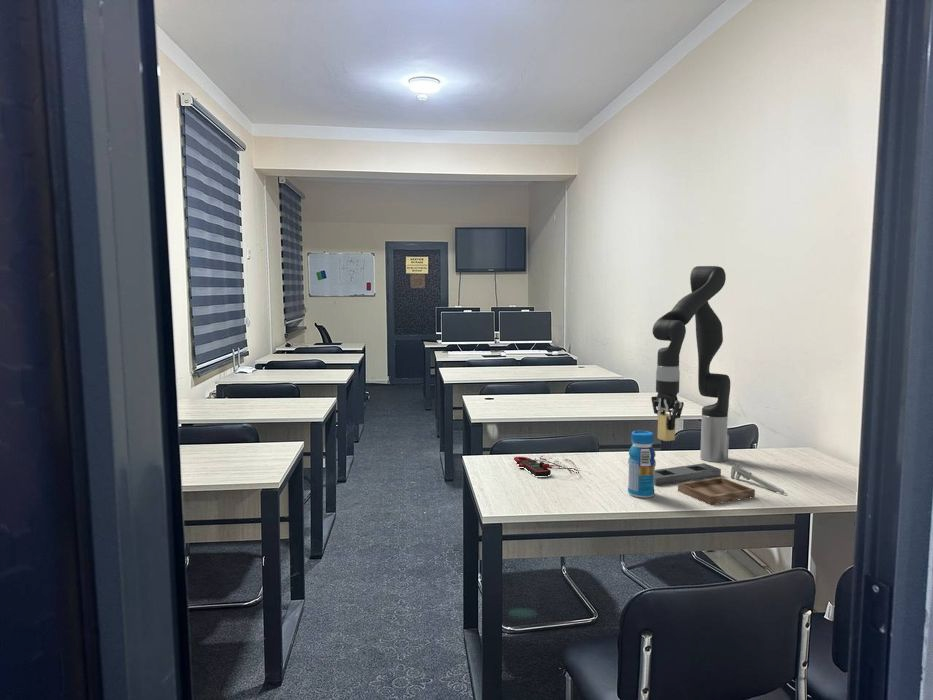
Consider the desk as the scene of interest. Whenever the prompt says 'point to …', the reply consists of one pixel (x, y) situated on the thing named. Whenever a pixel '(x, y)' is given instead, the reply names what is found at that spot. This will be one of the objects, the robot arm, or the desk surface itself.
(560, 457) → the desk surface
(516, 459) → the digital clamp meter
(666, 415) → the peg
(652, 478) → the beverage bottle
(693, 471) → the rail
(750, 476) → the caliper
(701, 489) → the tray
